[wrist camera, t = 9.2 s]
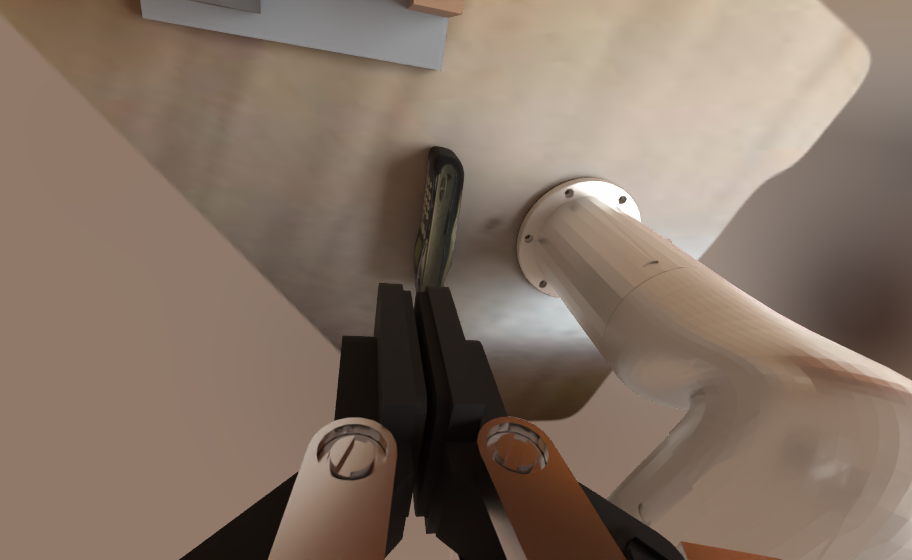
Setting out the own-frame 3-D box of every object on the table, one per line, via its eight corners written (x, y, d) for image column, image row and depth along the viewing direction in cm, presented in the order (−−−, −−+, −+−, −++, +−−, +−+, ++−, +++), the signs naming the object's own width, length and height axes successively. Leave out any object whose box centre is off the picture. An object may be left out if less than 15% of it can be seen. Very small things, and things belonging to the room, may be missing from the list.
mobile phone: (431, 155, 33) (412, 323, 40) (470, 159, 34) (445, 324, 40) (424, 143, 37) (408, 296, 44) (458, 147, 38) (438, 298, 45)
